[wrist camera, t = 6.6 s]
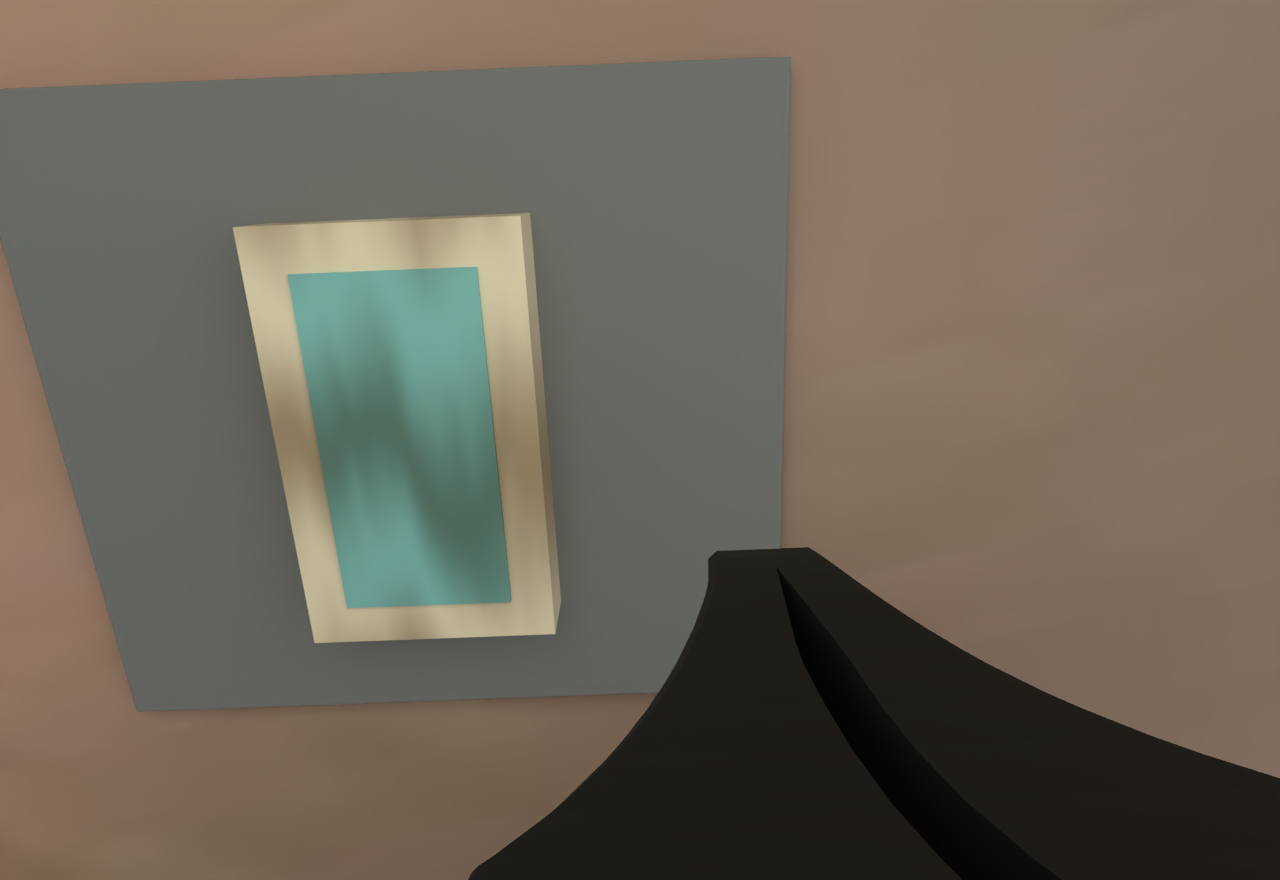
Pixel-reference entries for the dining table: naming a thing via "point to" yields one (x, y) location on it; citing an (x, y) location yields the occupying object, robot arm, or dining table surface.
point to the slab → (409, 422)
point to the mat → (407, 188)
